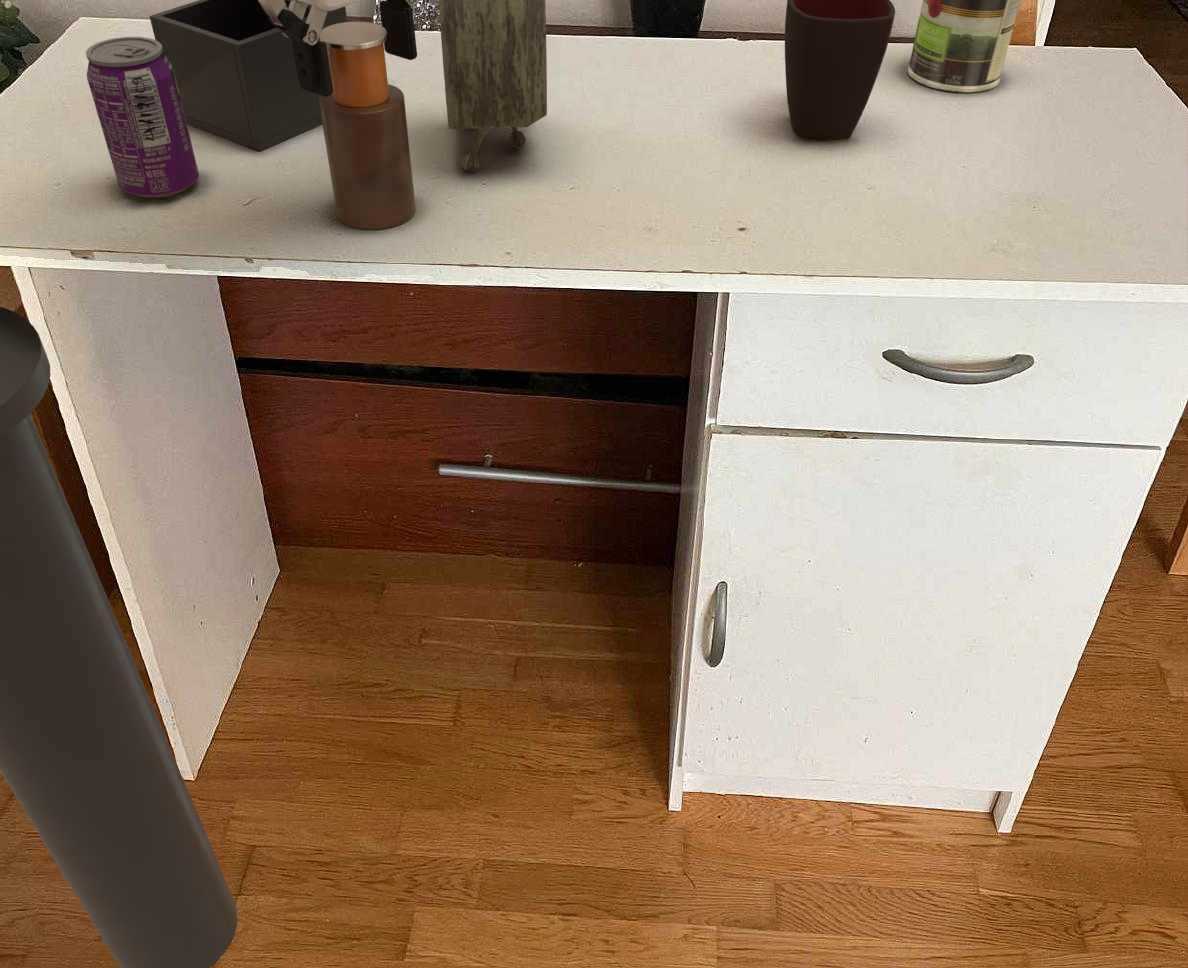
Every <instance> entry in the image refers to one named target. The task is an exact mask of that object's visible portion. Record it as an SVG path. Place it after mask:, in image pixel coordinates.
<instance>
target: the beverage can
mask: <svg viewBox="0 0 1188 968" xmlns="http://www.w3.org/2000/svg"><path fill="white" fill-rule="evenodd" d="M85 55H86V58H87V60H88V65H87V70H86V79H87V83H88V86H89V90H90V94H91V97H92V100H93V103H94V107H95V110H96V113H97V116H98V121H99V123H100V127H101V129H102V133H103V137H104V140H105V143H106V147H107V150H108V154H109V157H110V160H111V165H112V168H113V172H114V174H115V178H116V180H117V184H118V187H119V188H120V189H121V190H122V191H124V192H126V193H128V194H131V195H135V196H139V197H141V198H146V199H163V198H169V197H173V196H176V195H178V194H181V193H183V192H184V191H185V190H187V189H188V188H190V187H191V186H192V185H194V184H195V183H196V182H197V180H199V177H200V172H199V168H198V165H197V160H196V156H195V151H194V148H193V143H192V140H191V135H190V132H189V128H188V124H187V123H186V119H185V115H184V111H183V107H182V102H181V98H180V94H179V90H178V86H177V82H176V78H175V74H174V70H173V67H172V65H171V63H170V62H169V60H168V59H167V58H166V56H165V55H164V54H163V48H162V45H161V43H160V42H158V41H156V40H155V38H151V37H146V36H145V37H144V36H122V37H121V36H120V37H114V38H109V39H104V40H102V41H99V42H96V43H94V44H92V45H91V46H89V47H88V48H87V49H86V50H85Z"/></svg>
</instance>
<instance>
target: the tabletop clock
mask: <svg viewBox="0 0 1188 968" xmlns="http://www.w3.org/2000/svg"><path fill="white" fill-rule="evenodd" d="M437 1H438V15H439V26H440V29H439V30H440V41H441V51H442V52H441V54H442V68H443V80H444V92H445V93H444V94H445V103H446V104H445V105H446V116H447V117H446V118H447V127H448V130H465V129H466V130H467V129H469V130H470V129H472V130H473V129H474V134H473V140H472V144H471V148H470V153H467V154H465V155H464V156H463V157H462V159H461V166H462V168H463V170H465V172H468V173H475V172H476V170H478V168H479V166H480V161H479V157H477V154H478V151H479V148H480V146H481V143H482V141H483V139H484V137H485V135H486V134H487V133H488V131H489V130H491V129H504V128H507V129H508V128H510V130H511V131H512V132H511V133H510V134H509V138H508V141H509V143H510V145H511V146H512V147H513V148H516V149H519V148H522V147H524V145H525V143H526V140H527V138H526V136H525V133H524V132H523V131H521V130H519V129H518V128H528V127H531V126H532V125H533V124H535V123H537V122H538V121H539V120H542V119H543V118H544V117H546V116H548V80H547V79H548V67H547V66H548V65H547V63H548V61H547V58H548V57H547V11H546V8H547V7H546V0H437Z"/></svg>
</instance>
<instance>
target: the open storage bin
mask: <svg viewBox="0 0 1188 968" xmlns="http://www.w3.org/2000/svg"><path fill="white" fill-rule="evenodd" d="M284 1H285V3H286V4H287V5H286V6H287V8H289V5H290V2H291V1H288V0H284ZM309 12H310V9H308V8H307V9H306V12H305V15H304V18H303V22H305V23H306V21H307V18H308V15H309ZM149 21H150V25H151V28H152V32H153V37H154V40H156V41H158V42H160V43H161V45H162V48H163V54H164V55H165V56H166V58H167V59H168V60H169V62H170V63H171V65H172V67H173V70H174V74H175V78H176V82H177V86H178V90H179V94H180V98H181V102H182V107H183V111H184V115H185V119H186V123H187V125H188V126H192V127H194V128H197V129H200V130H202V131H205V132H208V133H210V134H212V135H216V136H218V137H219V138H223V139H226V140H228V141H231V142H234V143H237V144H239V145H241V146H244V147H246V148H249V149H252V150H256V151H257V152H262V151H264V150H266V149H269V148H271V147H273V146H275V145H278V144H280V143H282V142H285V141H286V140H289V139H291V138H294V137H296V136H298V135H300V134H302V133H305V132H307V131H310V130H312V129H314V128H317V127H318V126H321V125H323V124H322V118H321V112H320V105H319V97H320V95H318V94H315V93H312V92H309V91H306V90H304V89H302V88H301V86H300V83H299V78H298V74H297V69H296V63H295V57H294V52H293V46H292V40H291V39H289V38H286V37H285V36H284V35H283V33H282V31H280V30H279V29H278V28H277V27H276V26H274V25H273V24H272V23H271V22H270V21H269V18H268V14H267V13H266V12H265V10H264V9H263V7H262V6H261V4H260V3H259V1H258V0H195V1H192V2H189V3H185V4H182V5H178V6H177V7H174V8H171V9H168V10H164V11H161V12H158V13H154V14H152V15H149ZM344 22H348V17H347V10H346V6H344V7H342V8H339V9H335V10H332V11H328V13H327V16H326V19H325V22H324V25H323V27H322V29H324V28H326V27H328V26H331V25H334V24H338V23H344ZM318 41H320V40H319V39H318Z"/></svg>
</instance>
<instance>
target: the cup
mask: <svg viewBox="0 0 1188 968" xmlns="http://www.w3.org/2000/svg"><path fill="white" fill-rule="evenodd" d="M895 16H896V9H895V6H894V3H893V2H892V1H891V0H786V7H785V19H784V22H785V23H784V67H785V87H786V99H787V100H786V101H787V108H788V114H789V120H790V126H791V129H792V130H793V132H794V133H795V135H796V136H797V137H799V138H800V139H802V140H803V141H811V142H813V141H814V142H837V141H839V142H840V141H843V140H844V141H845V140H849V139H850V138H851V136H852V135H853V133H854V131H855V130H856V127H857V126H858V123H859V121H860V120H861V118H862V115H863V113H864V111H865V109H866V106H867V104H868V102H869V99H870V96H871V94H872V92H873V89H874V86H875V83H876V80H877V78H878V75H879V72H880V69H881V66H882V64H883V62H884V58H885V56H886V55H885V54H886V52H887V49H888V46H889V41H890V37H891V34H892V31H893V30H892V29H893V26H894V25H893V24H894V21H895Z"/></svg>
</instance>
